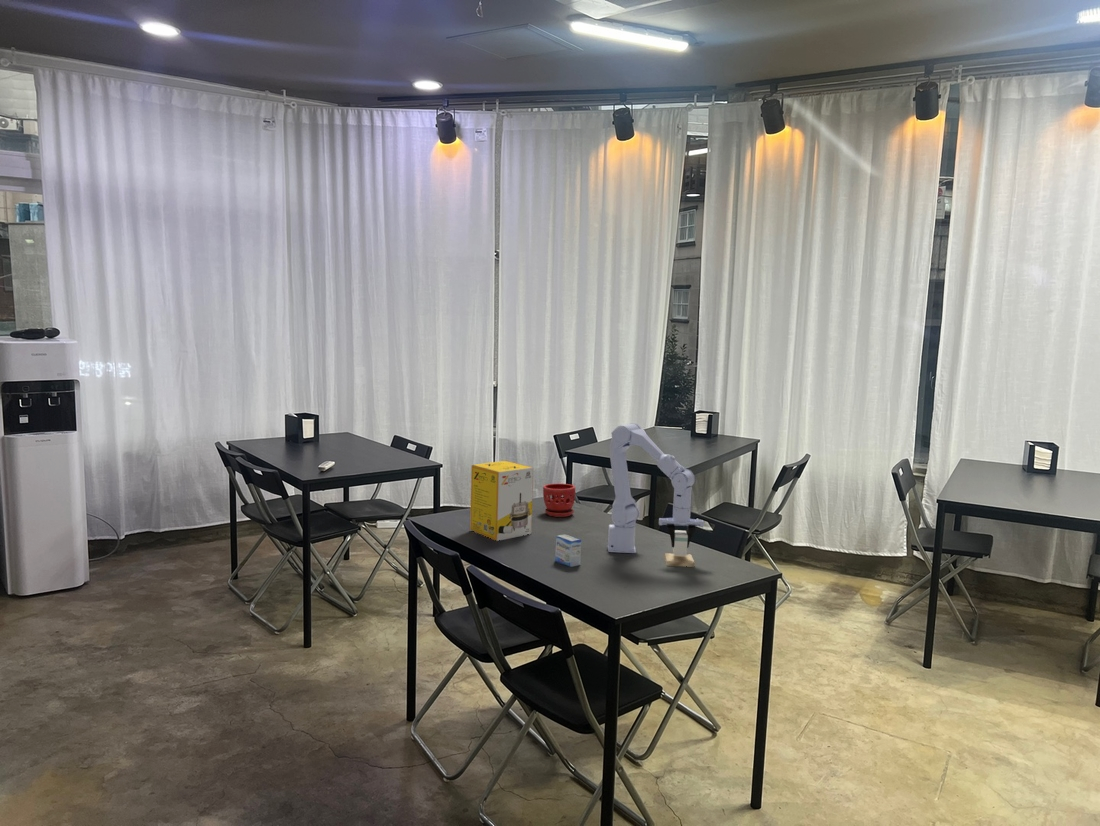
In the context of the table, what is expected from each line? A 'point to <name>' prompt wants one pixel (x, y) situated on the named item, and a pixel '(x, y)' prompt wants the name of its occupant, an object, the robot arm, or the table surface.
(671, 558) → the oak block
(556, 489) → the plant pot
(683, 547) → the carton block
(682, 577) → the table surface
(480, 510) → the packaging box
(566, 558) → the medicine box
